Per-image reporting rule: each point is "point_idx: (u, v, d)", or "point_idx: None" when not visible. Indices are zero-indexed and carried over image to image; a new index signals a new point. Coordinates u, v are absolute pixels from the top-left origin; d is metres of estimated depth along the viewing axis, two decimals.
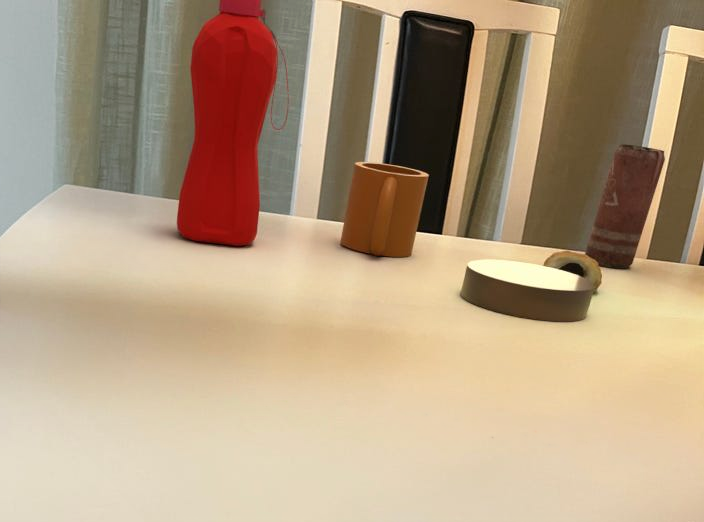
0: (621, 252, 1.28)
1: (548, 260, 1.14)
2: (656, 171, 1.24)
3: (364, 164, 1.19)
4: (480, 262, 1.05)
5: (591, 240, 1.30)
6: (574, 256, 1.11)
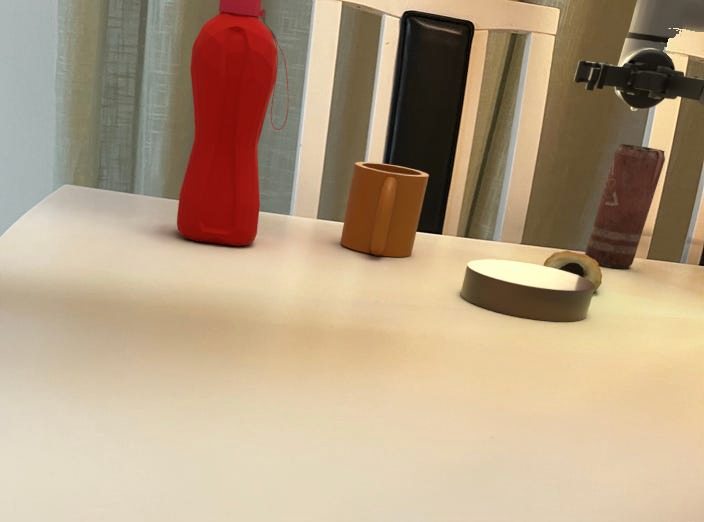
0: (621, 252, 1.28)
1: (548, 260, 1.14)
2: (656, 171, 1.24)
3: (364, 164, 1.19)
4: (480, 262, 1.05)
5: (591, 240, 1.30)
6: (574, 256, 1.11)
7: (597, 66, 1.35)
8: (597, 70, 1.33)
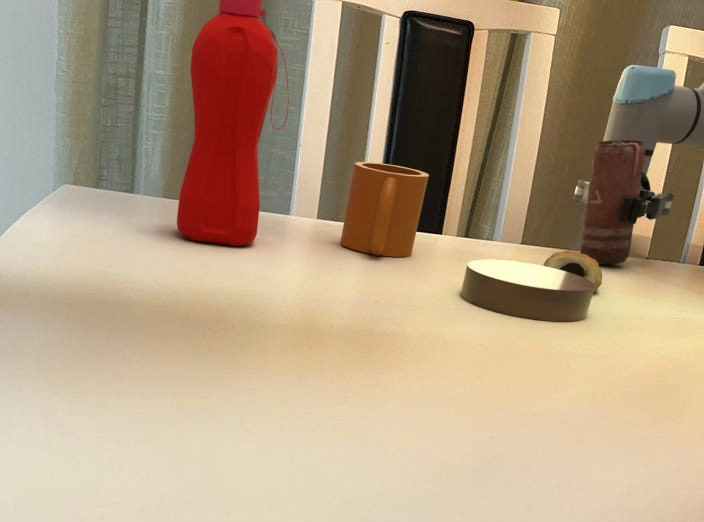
0: (612, 247, 1.28)
1: (548, 260, 1.14)
2: (635, 164, 1.23)
3: (364, 164, 1.19)
4: (480, 262, 1.05)
5: (582, 239, 1.31)
6: (574, 256, 1.11)
7: None
8: None
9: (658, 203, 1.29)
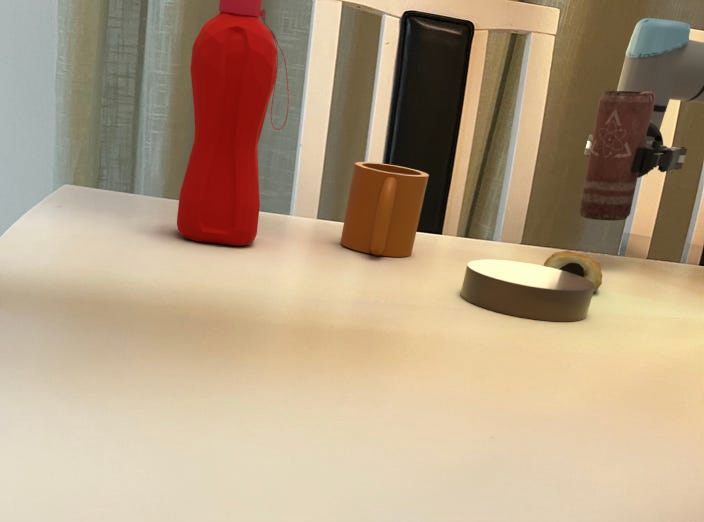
0: (631, 201, 1.25)
1: (548, 260, 1.14)
2: (652, 113, 1.20)
3: (364, 164, 1.19)
4: (480, 262, 1.05)
5: (601, 197, 1.23)
6: (574, 256, 1.11)
7: None
8: None
9: (670, 155, 1.26)
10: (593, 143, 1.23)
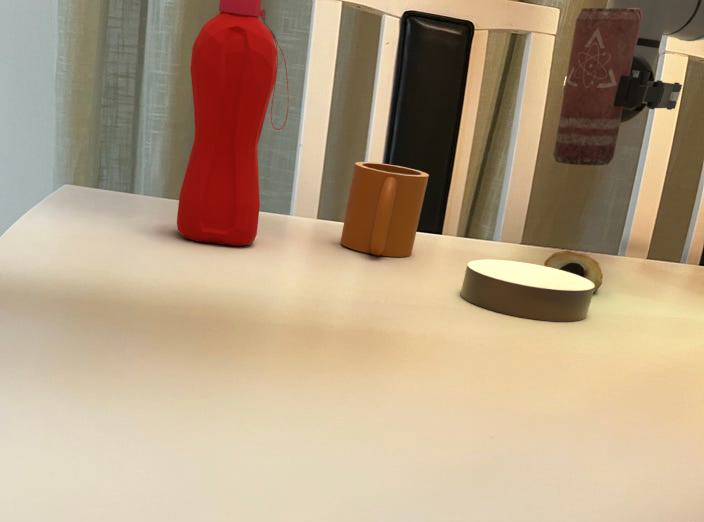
0: (615, 142, 1.05)
1: (548, 260, 1.14)
2: (638, 35, 1.01)
3: (364, 164, 1.19)
4: (480, 262, 1.05)
5: (581, 136, 1.04)
6: (575, 256, 1.11)
7: None
8: None
9: (661, 88, 1.06)
10: (570, 72, 1.02)
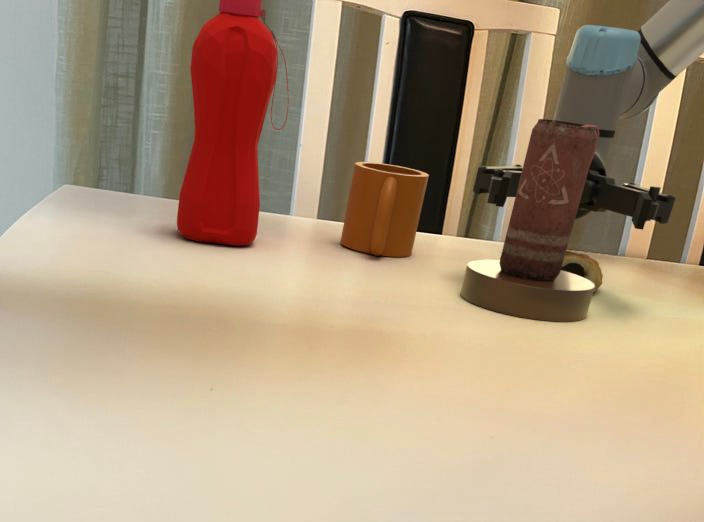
0: (563, 259, 1.01)
1: None
2: (594, 152, 0.97)
3: (364, 164, 1.19)
4: (480, 262, 1.05)
5: (529, 251, 0.99)
6: (575, 256, 1.11)
7: (500, 174, 1.05)
8: (498, 181, 1.02)
9: (673, 203, 1.03)
10: (522, 183, 0.98)
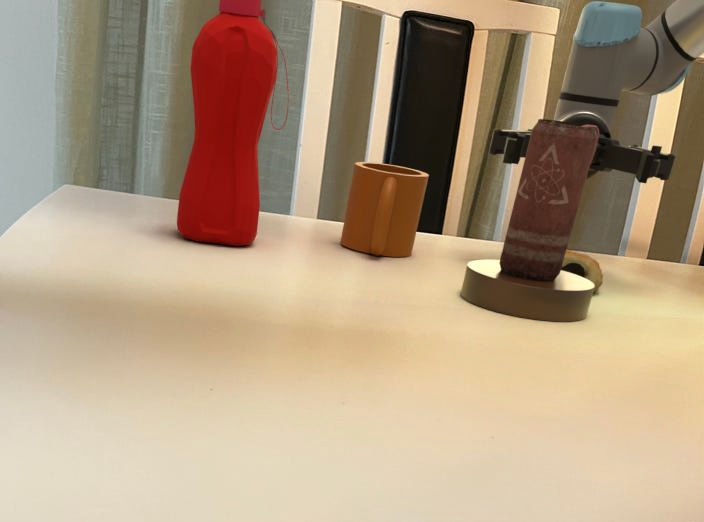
0: (563, 259, 1.01)
1: None
2: (594, 152, 0.97)
3: (364, 164, 1.19)
4: (480, 262, 1.05)
5: (529, 251, 0.99)
6: (575, 256, 1.11)
7: (515, 136, 1.14)
8: (513, 141, 1.12)
9: None
10: (522, 183, 0.98)
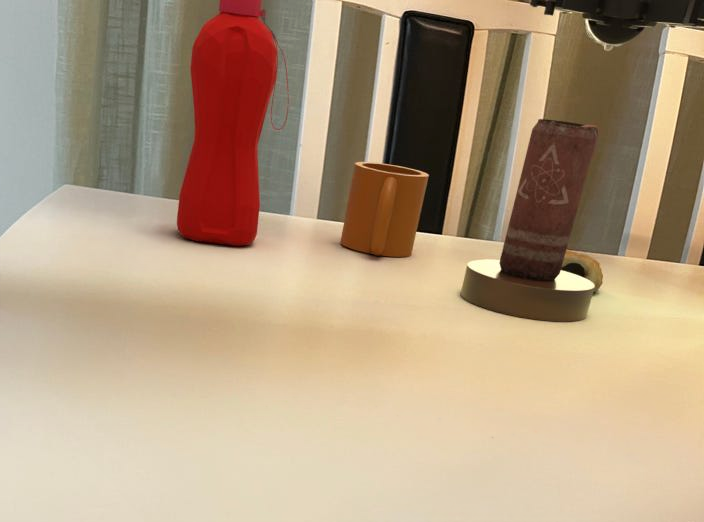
0: (563, 259, 1.01)
1: None
2: (594, 152, 0.97)
3: (364, 164, 1.19)
4: (480, 262, 1.05)
5: (529, 251, 0.99)
6: (575, 256, 1.11)
7: None
8: None
9: None
10: (522, 183, 0.98)
